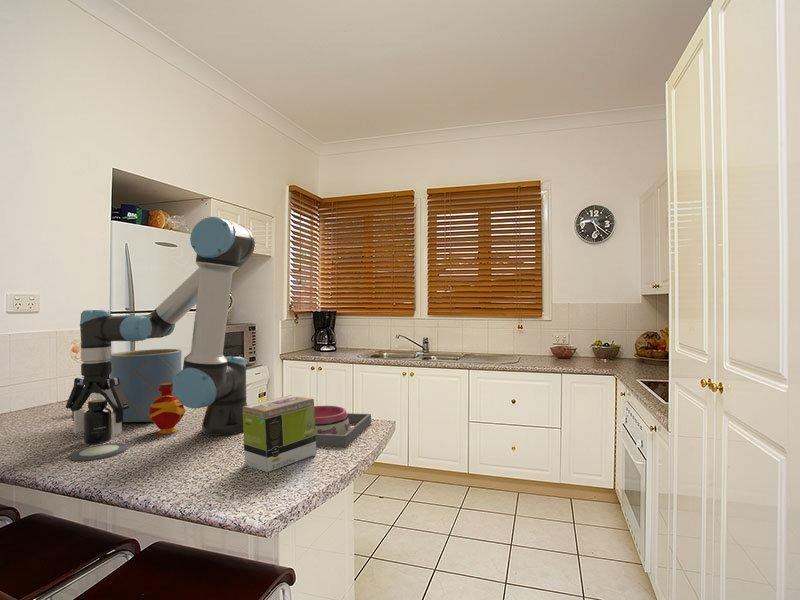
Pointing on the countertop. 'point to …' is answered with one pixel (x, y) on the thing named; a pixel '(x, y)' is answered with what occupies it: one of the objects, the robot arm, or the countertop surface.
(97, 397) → the cup
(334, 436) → the bowl mat frame
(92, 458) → the plate
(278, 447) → the tea box
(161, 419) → the potion bottle
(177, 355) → the planter
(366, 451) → the countertop surface
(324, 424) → the dog bowl
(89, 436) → the supplement bottle
